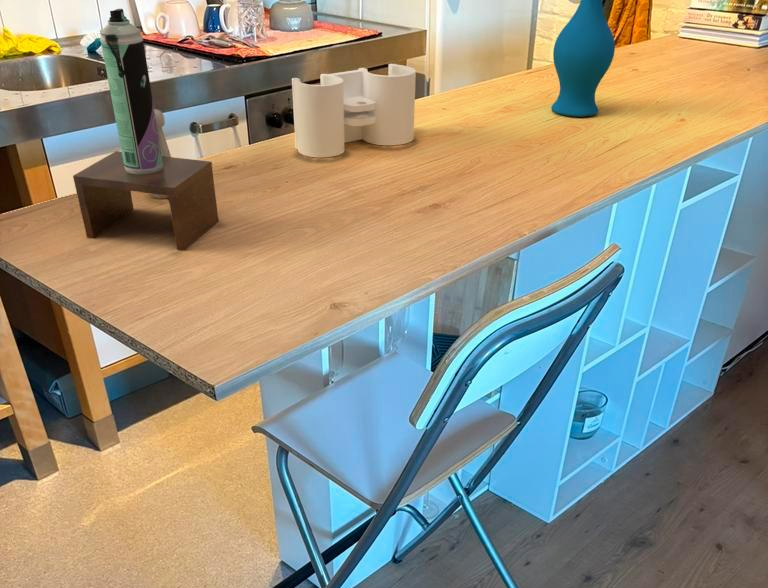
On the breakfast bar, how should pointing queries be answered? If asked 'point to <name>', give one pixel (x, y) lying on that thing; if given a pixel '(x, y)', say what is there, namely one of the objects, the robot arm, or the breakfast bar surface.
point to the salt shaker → (161, 143)
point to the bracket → (354, 110)
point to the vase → (582, 59)
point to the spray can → (131, 94)
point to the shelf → (177, 180)
